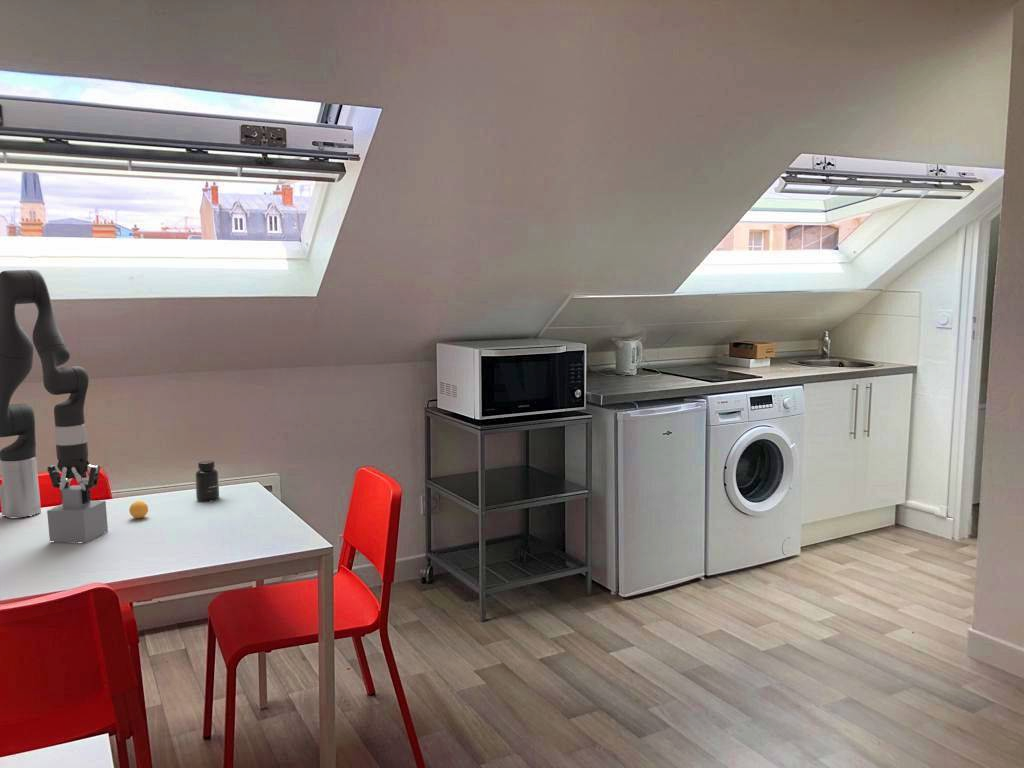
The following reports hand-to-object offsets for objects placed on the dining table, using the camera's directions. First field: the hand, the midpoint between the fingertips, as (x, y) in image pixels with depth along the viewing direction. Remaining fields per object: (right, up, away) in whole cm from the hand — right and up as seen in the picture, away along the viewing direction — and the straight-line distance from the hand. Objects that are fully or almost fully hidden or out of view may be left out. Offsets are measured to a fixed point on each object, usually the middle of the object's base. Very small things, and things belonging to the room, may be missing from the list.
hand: (76, 502), depth 228 cm
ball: (+9, -5, +18) cm, 21 cm away
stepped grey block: (0, -10, +1) cm, 10 cm away
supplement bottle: (+22, -4, +38) cm, 44 cm away
